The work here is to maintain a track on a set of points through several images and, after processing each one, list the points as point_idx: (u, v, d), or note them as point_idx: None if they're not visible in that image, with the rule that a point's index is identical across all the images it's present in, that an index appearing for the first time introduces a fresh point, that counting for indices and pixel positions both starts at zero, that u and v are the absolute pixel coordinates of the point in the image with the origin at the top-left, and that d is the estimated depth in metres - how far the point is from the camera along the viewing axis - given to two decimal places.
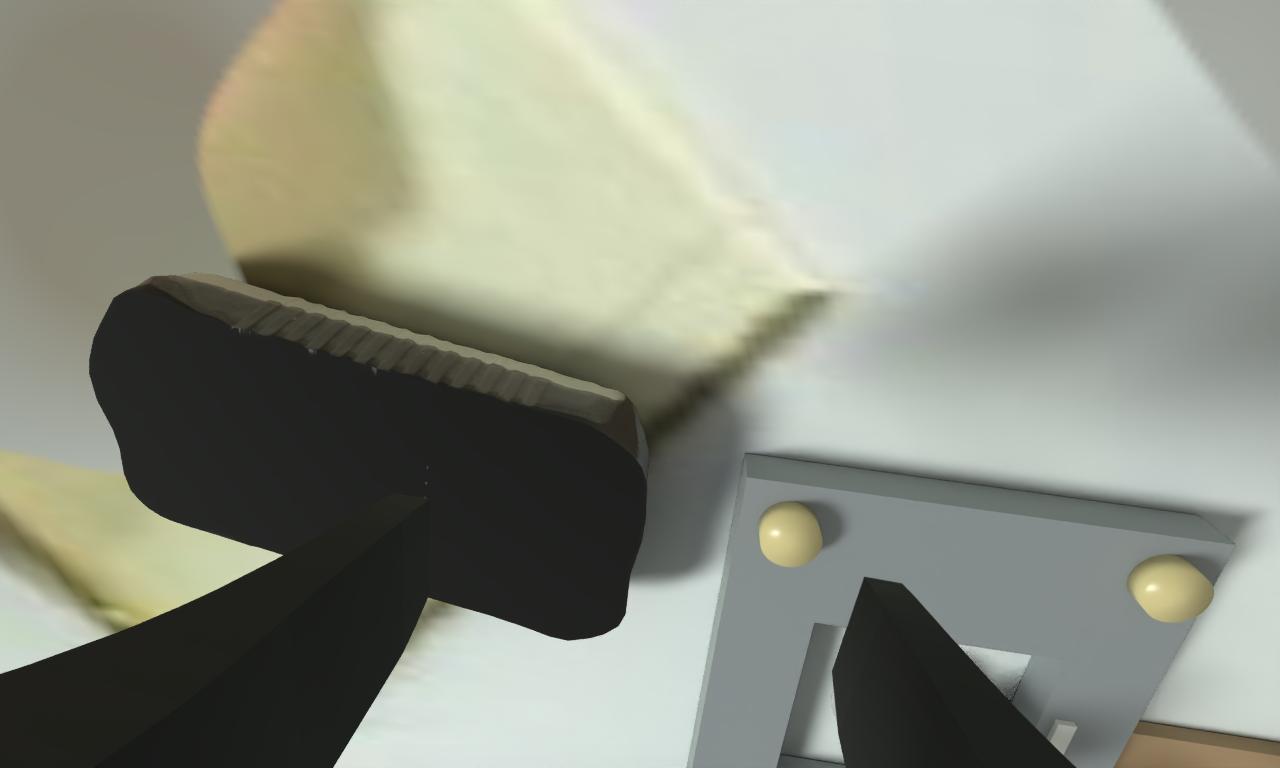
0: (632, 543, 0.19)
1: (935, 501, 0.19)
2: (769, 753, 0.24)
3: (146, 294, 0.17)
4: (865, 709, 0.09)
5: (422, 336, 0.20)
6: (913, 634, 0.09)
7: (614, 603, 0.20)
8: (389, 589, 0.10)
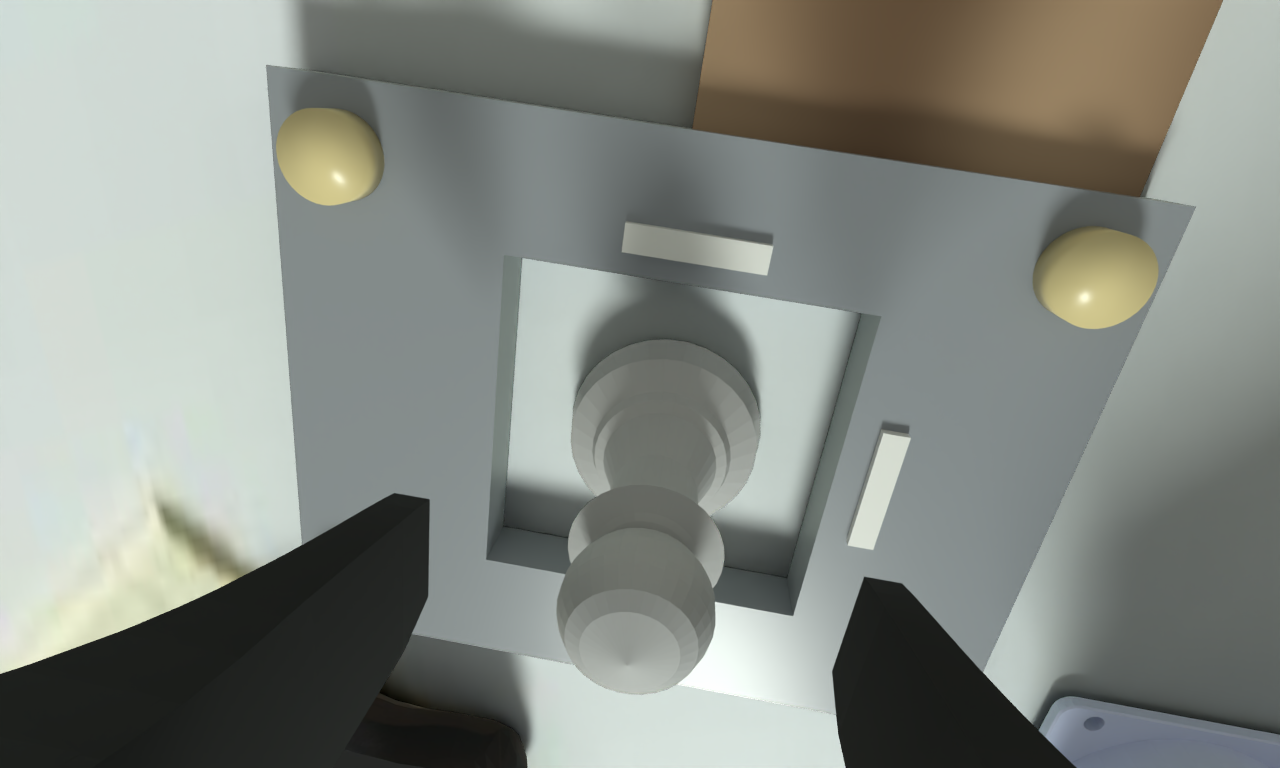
0: (355, 758, 0.18)
1: None
2: (720, 614, 0.17)
3: None
4: (865, 709, 0.09)
5: None
6: (913, 634, 0.09)
7: None
8: (389, 589, 0.10)
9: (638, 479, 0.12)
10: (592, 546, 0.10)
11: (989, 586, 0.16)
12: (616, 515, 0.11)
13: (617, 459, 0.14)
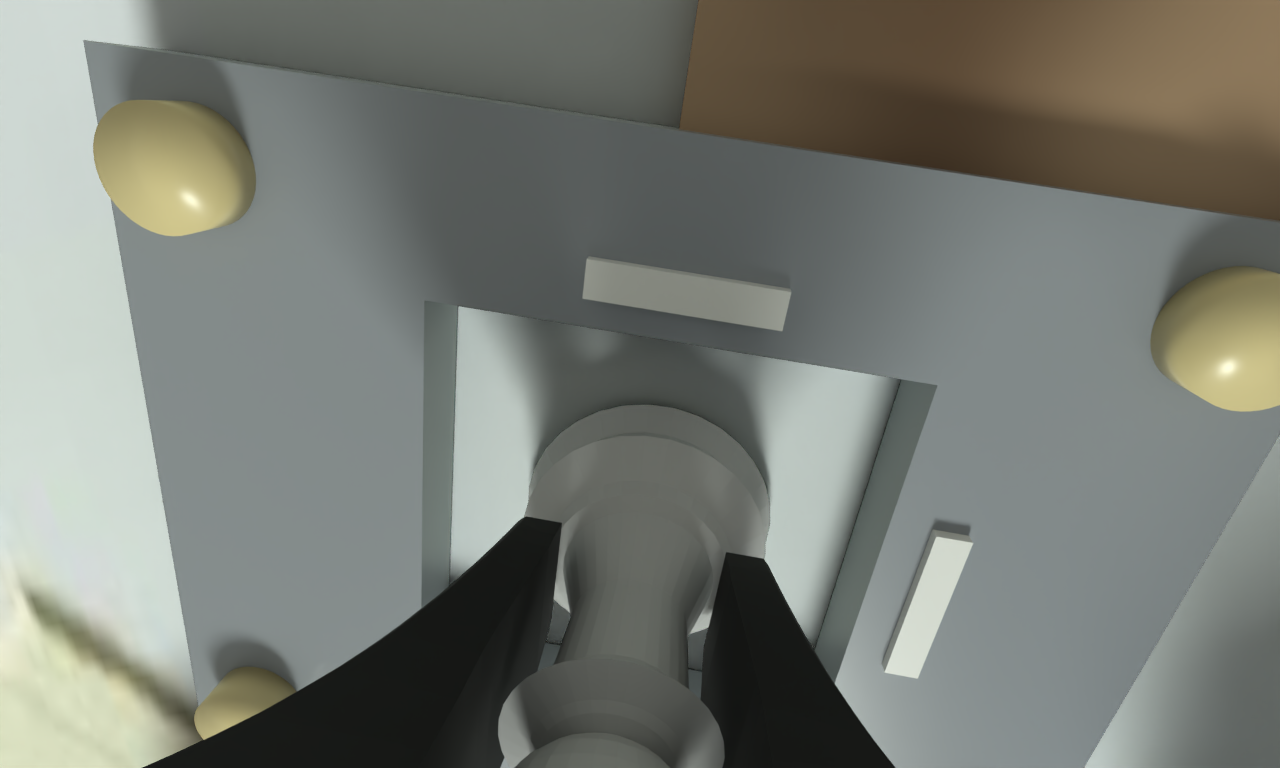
0: None
1: (172, 527, 0.13)
2: None
3: None
4: (714, 682, 0.10)
5: None
6: (749, 604, 0.09)
7: None
8: (534, 616, 0.09)
9: (602, 628, 0.09)
10: None
11: (1067, 722, 0.12)
12: (564, 701, 0.08)
13: (577, 579, 0.10)
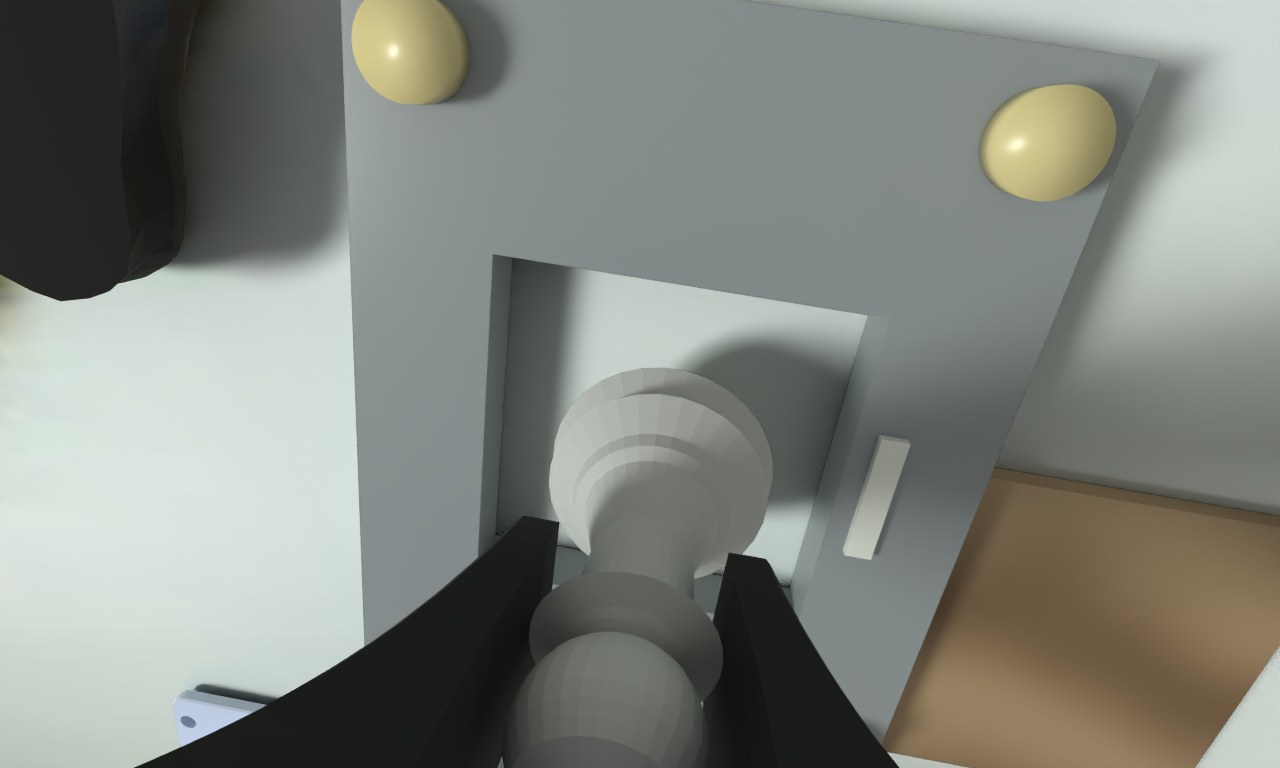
0: (108, 94, 0.11)
1: None
2: (464, 507, 0.16)
3: None
4: (717, 682, 0.10)
5: None
6: (752, 605, 0.09)
7: (110, 226, 0.12)
8: (531, 616, 0.09)
9: (693, 597, 0.10)
10: (693, 699, 0.08)
11: None
12: (685, 640, 0.09)
13: (677, 510, 0.11)
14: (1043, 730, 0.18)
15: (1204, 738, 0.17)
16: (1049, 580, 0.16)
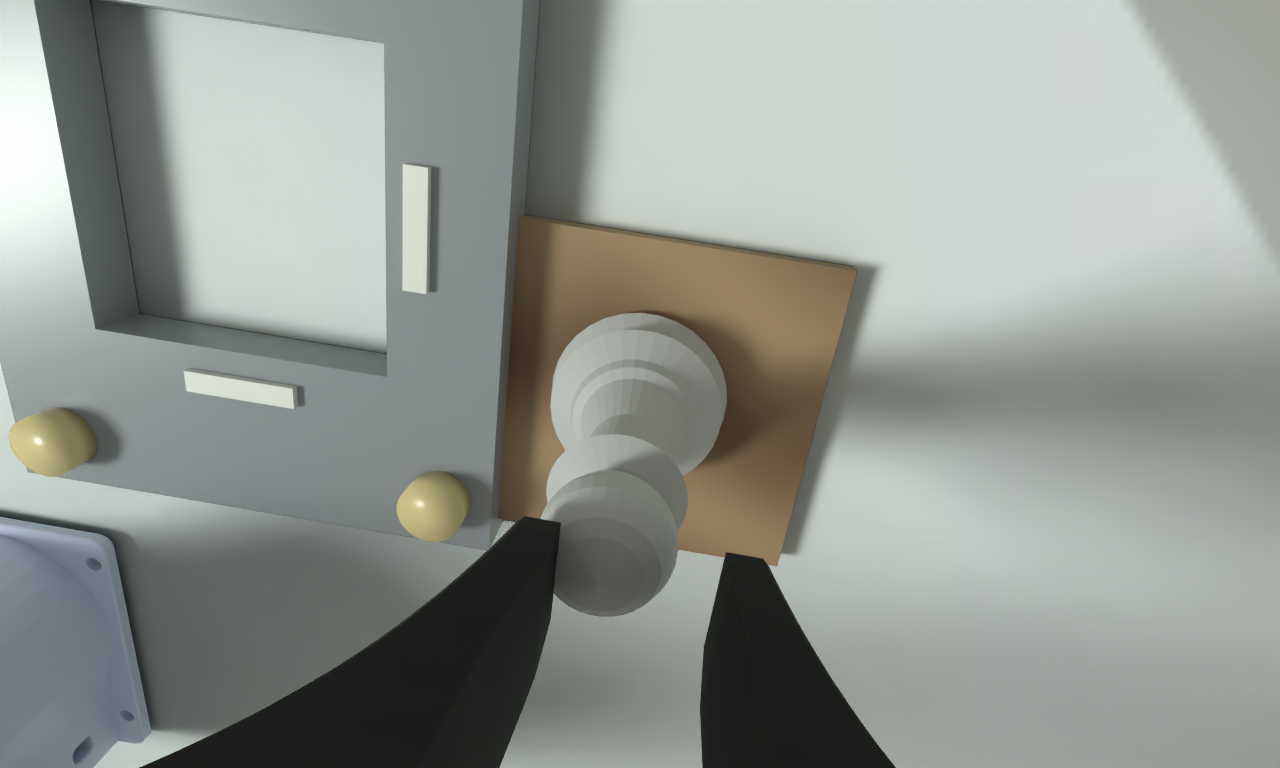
0: None
1: None
2: (68, 260, 0.17)
3: None
4: (714, 681, 0.10)
5: None
6: (749, 604, 0.09)
7: None
8: (533, 616, 0.09)
9: None
10: (666, 506, 0.11)
11: (184, 478, 0.19)
12: (661, 483, 0.13)
13: (652, 411, 0.15)
14: None
15: (788, 491, 0.19)
16: None
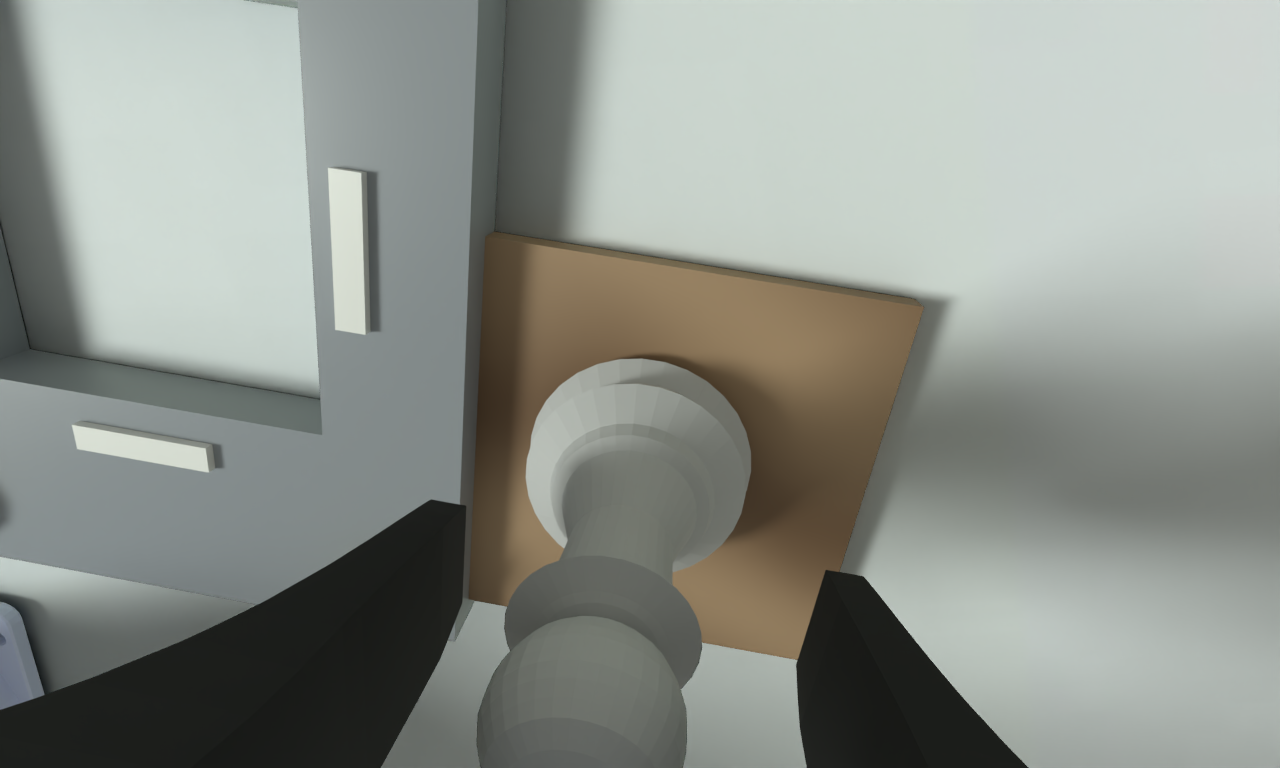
0: None
1: None
2: None
3: None
4: (823, 702, 0.09)
5: None
6: (867, 626, 0.09)
7: None
8: (429, 597, 0.10)
9: (671, 584, 0.10)
10: (671, 680, 0.08)
11: (86, 549, 0.16)
12: (663, 624, 0.09)
13: (654, 498, 0.11)
14: None
15: None
16: None
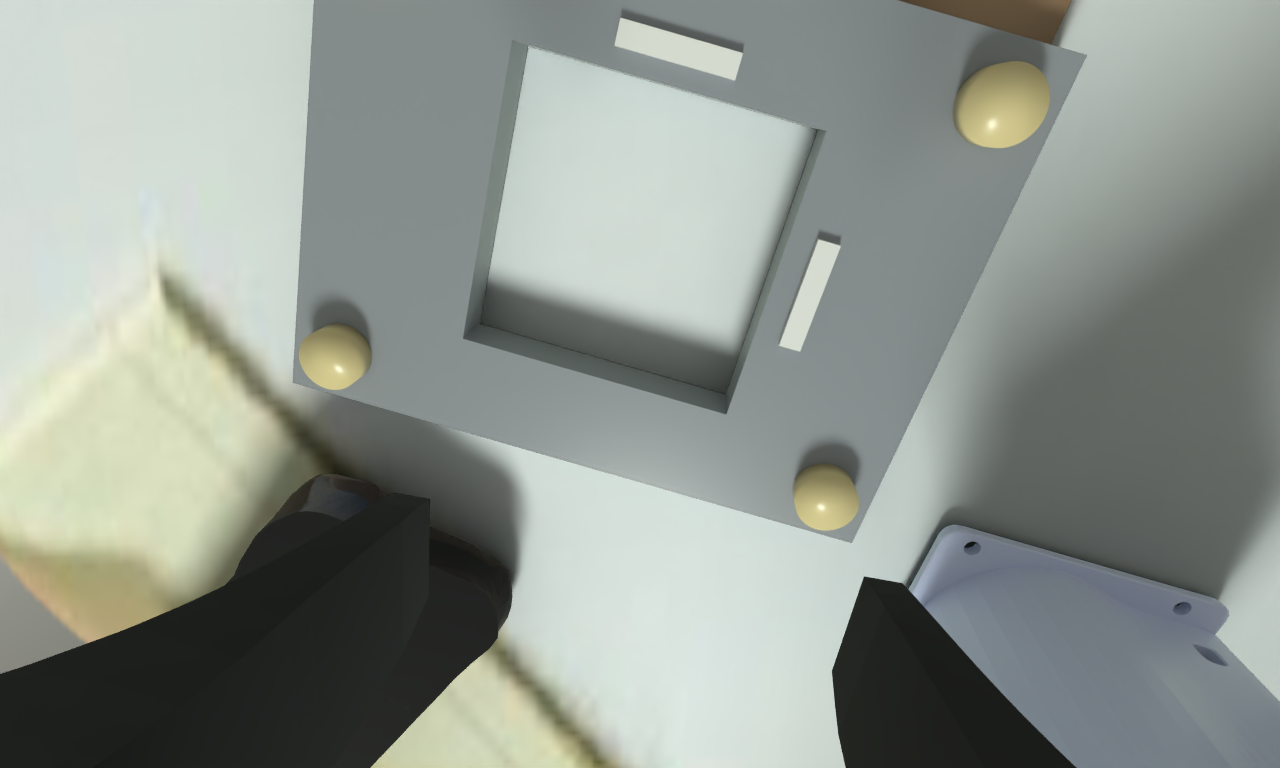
0: None
1: (304, 203, 0.18)
2: (663, 408, 0.19)
3: None
4: (865, 710, 0.09)
5: None
6: (913, 634, 0.09)
7: (458, 586, 0.21)
8: (389, 590, 0.10)
9: None
10: None
11: (894, 397, 0.18)
12: None
13: None
14: None
15: None
16: None
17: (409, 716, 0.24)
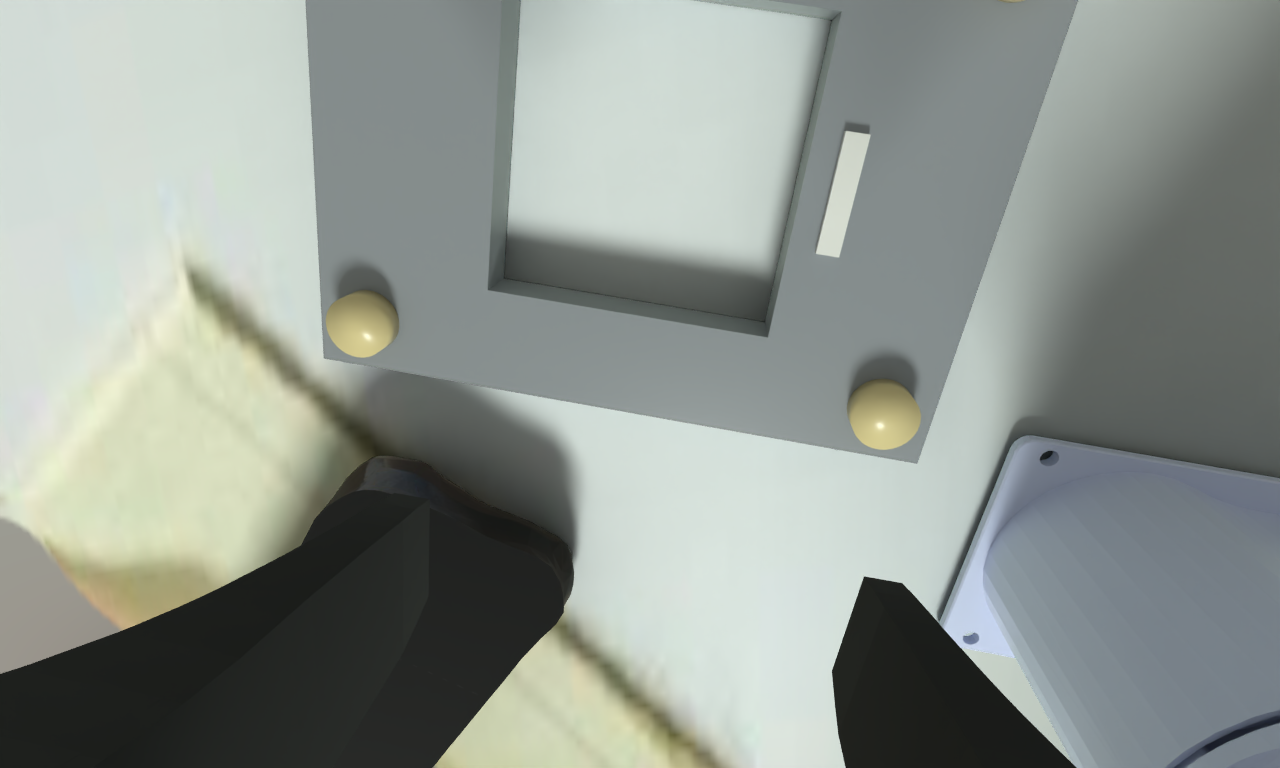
0: (449, 523, 0.20)
1: (316, 169, 0.18)
2: (701, 339, 0.18)
3: None
4: (865, 709, 0.09)
5: None
6: (913, 634, 0.09)
7: (521, 560, 0.20)
8: (389, 589, 0.10)
9: None
10: None
11: (946, 296, 0.17)
12: None
13: None
14: None
15: None
16: None
17: (477, 701, 0.23)
